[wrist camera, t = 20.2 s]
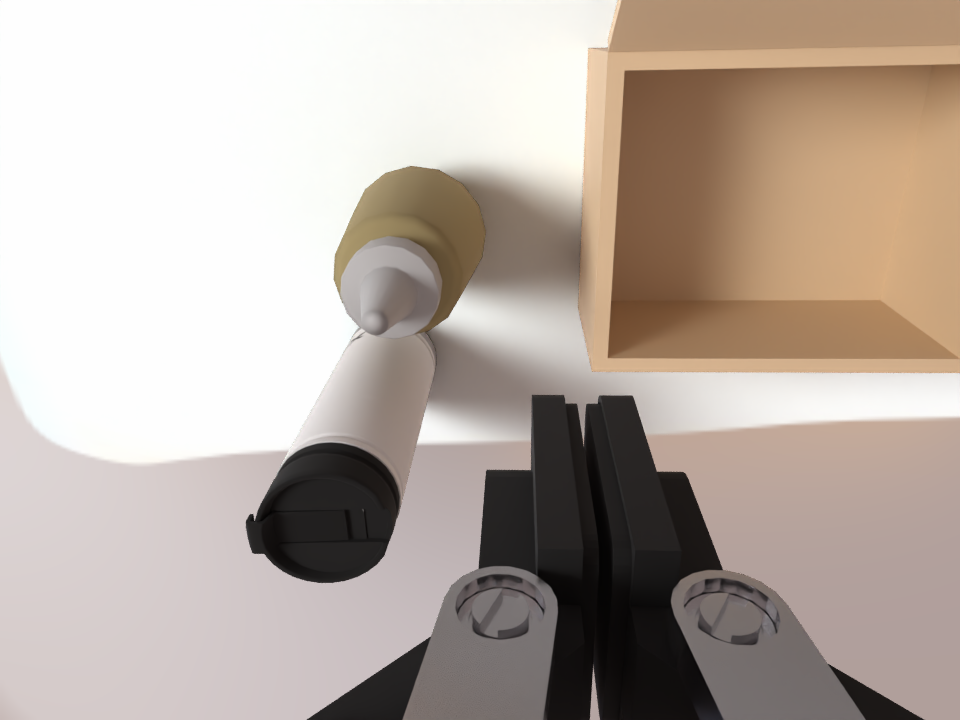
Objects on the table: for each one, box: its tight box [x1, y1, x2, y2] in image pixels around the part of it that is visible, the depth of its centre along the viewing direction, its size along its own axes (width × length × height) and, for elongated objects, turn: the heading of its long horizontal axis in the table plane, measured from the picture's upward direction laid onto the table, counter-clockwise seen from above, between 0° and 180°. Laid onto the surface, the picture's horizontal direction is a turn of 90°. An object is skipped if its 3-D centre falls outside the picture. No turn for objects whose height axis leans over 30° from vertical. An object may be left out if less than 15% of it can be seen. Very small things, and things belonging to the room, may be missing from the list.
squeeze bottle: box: [334, 166, 486, 339], centre depth 38 cm, size 8×8×18 cm
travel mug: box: [246, 328, 437, 583], centre depth 41 cm, size 6×7×20 cm
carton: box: [578, 45, 960, 373], centre depth 40 cm, size 16×20×10 cm
